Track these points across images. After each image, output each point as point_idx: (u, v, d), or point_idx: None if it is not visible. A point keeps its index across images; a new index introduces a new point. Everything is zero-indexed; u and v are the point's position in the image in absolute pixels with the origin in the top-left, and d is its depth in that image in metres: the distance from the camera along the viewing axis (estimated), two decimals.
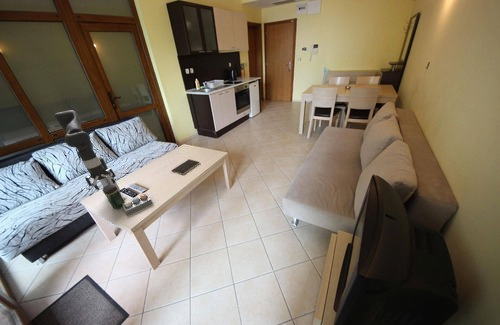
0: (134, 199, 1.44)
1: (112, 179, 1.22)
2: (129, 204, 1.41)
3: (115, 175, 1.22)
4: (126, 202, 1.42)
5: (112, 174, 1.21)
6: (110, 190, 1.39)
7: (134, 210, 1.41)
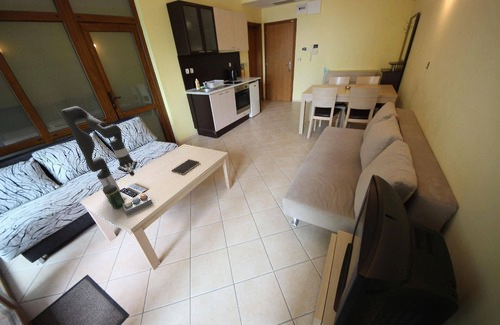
0: (134, 199, 1.44)
1: (132, 171, 1.36)
2: (129, 204, 1.41)
3: None
4: (126, 202, 1.42)
5: (134, 166, 1.36)
6: (110, 190, 1.39)
7: (134, 210, 1.41)
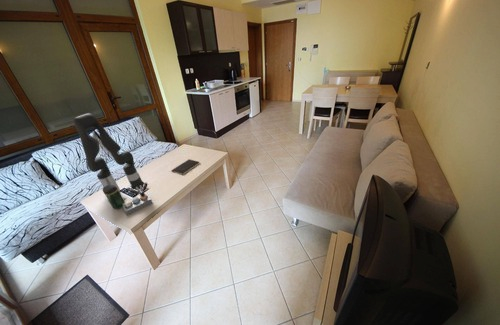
0: (134, 199, 1.44)
1: (142, 192, 1.46)
2: (129, 204, 1.41)
3: (145, 189, 1.46)
4: (126, 202, 1.42)
5: (144, 188, 1.45)
6: (110, 190, 1.39)
7: (134, 210, 1.41)
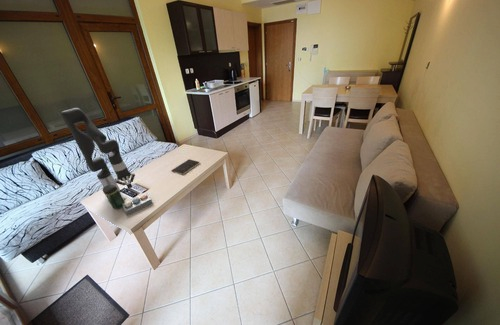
0: (134, 199, 1.44)
1: (129, 184, 1.38)
2: (129, 204, 1.41)
3: (132, 181, 1.39)
4: (126, 202, 1.42)
5: (131, 179, 1.38)
6: (110, 190, 1.39)
7: (134, 210, 1.41)
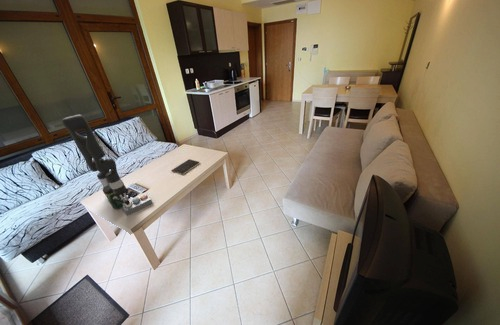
0: (134, 199, 1.44)
1: (127, 200, 1.40)
2: (130, 205, 1.42)
3: None
4: None
5: (129, 195, 1.40)
6: (110, 190, 1.39)
7: (134, 210, 1.41)
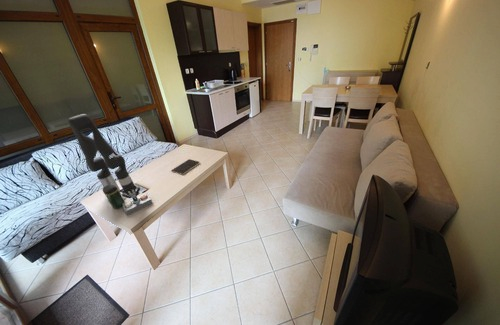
0: None
1: (135, 197, 1.43)
2: (130, 205, 1.42)
3: None
4: (127, 203, 1.43)
5: (137, 192, 1.43)
6: (110, 190, 1.39)
7: (134, 210, 1.41)
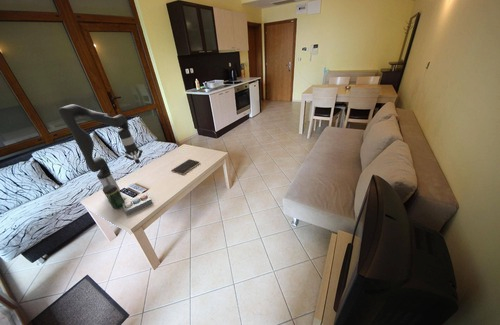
0: (135, 200, 1.45)
1: (137, 159, 1.46)
2: (130, 205, 1.42)
3: (140, 156, 1.46)
4: (127, 203, 1.43)
5: (139, 154, 1.45)
6: (110, 190, 1.39)
7: (134, 210, 1.41)
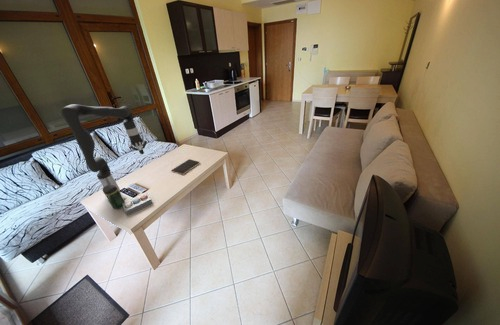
0: (135, 200, 1.45)
1: (142, 150, 1.51)
2: (130, 205, 1.42)
3: (144, 147, 1.51)
4: (127, 203, 1.43)
5: (143, 145, 1.50)
6: (110, 190, 1.39)
7: (134, 210, 1.41)
